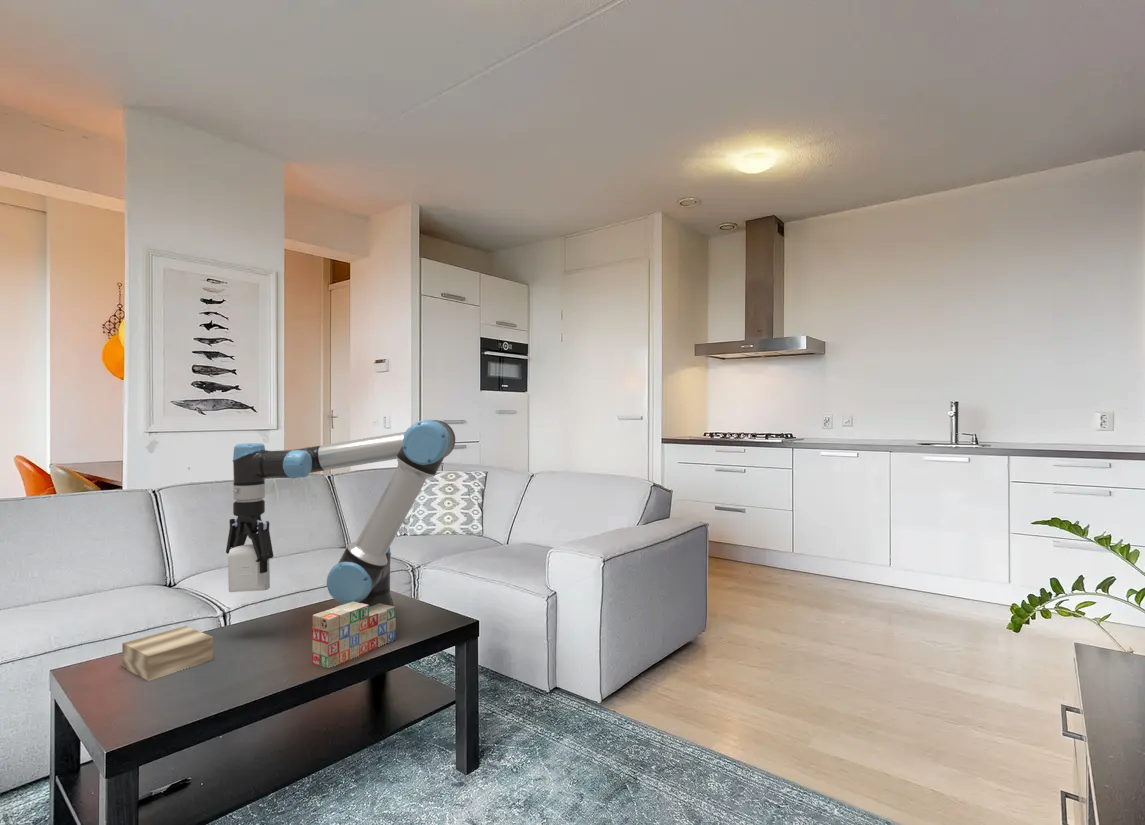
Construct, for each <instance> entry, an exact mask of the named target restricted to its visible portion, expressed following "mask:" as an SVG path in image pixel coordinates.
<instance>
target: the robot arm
mask: <svg viewBox="0 0 1145 825" xmlns="http://www.w3.org/2000/svg"><path fill="white" fill-rule="evenodd" d="M455 444H456V435H455V432H454V429H453V428H452V427H451V426H450V425H449V424H448V423H446V422H445V421H442V420H438V419H422V420H419V421H417V422H415V423H413V424H412V425H410V427H408V428H407V429H406V430H405V431H403V432H397V433H396V432H395V433H391V434H390V433H389V434H383V435H379V436H372V437H366V438H364V437H363V438H360V439H359V438H358V439H351V440H347V441H339V442H334V443H329V444H322V445H315V446H309V447H308V446H307V447H303V448H295V449H287V450H285V449H284V450H266V446H265V444H264V443H257V442H253V443H237V444H235V446H234V447H233V455H232V456H233V458H232V462H233V470H232V471H233V483H232V484H233V490H232V492H233V497H232V498H233V500H235V501H234V502H233V503H232V504H233V505H232V506H233V508H232V512H233V514H232V515H233V516H235V517H234V518H231V519H229V530H228V531H229V532H228V537H227V542H226V547H225V548H226V550H225V553H226V554H229V551H230V549H232V548H235V547H237V546H241V545H246V540H247V537H248V539H250V540H251V544H253V546H254V549H255V553H256V556H257V560H256V586H260V585H264V584H267V561H268V559H269V560H270V559H273V558H274V552H273V551H274V550H273V545H272V540H271V534H270V521H268V520H267V521H264V520H263V521H262V515H263V514H264V513H265V510H266V509H265V508H266V504H265V499H264V498H265V497H266V486H265V482H266V480H265V479H299V478H301V479H302V478H306V477H308V476H309V474H311V473H313V474H314V473H317V472H319V473H320V472H324V471H329V470H335V469H342V468H347V467H349V468H350V467H353V466H361V465H365V464H366V465H368V464H373V463H379V462H386V461H392V460H396V461H397V466H396V468H395V469H394V472H393V474H392V475H391V476H390V478H389V479H390V480H388V483H387V484H386V486H385V488H384V490H383V492H382V494H381V496H380V497H379V499H378V501H377V503H376V505H375V506H374V508H373V510H372V512H371V514H370V516H369V518H368V519H367V522H366V523H365V525H364V527H363V528H362V530H361V533H360V534H359V536H358V538H357V540H356V541H353V542H351V543H348V545H347V546H346V548H345V550H344V552H343V553H342V555H341V557H340V559H339V561H338V563H336V564H335V565H333V566H332V567H331V569H330V571H329V572H328V575H327V576H326V587H327V590H328V593H329V595H330V596H331V598H332V599H334V600H335V601H337V602H338V603H340V604H342V605H344V604H347V603H350V602H352V601H354V602H358V603H363V604H367V605H369V607H370V606H373V605H376V604H379V603H380V604H385V605H390V606H394V602H393V598H392V595H391V555H392V552H391V546H392V544H393V541H394V540H395V538H396V536H397V534H398V532H399V530H400V528H401V527H402V525H403V523H404V521H405V519H406V518H407V515H408V514H409V512H410V510H411V508H412V507H413V504H414V502H415V501H416V499H417V498H418V495H420V494H419V493H420V492H421V490H422V488H423V486H424V485H425V483H426V480H427V479H428V478H432V477H435V476H436V474H437V472H438V471H439V468H440V466H441V465H442V462H443V461H444V459H445V458H446V457H448V456H449V455H450V454H451V453H452V452H453V450H454V448H455ZM268 553H269V554H268ZM261 555H262V556H261ZM394 607H395V606H394ZM395 618H396V619H397V611H396V609H395Z"/></svg>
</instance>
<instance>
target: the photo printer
mask: <svg viewBox="0 0 1145 825" xmlns="http://www.w3.org/2000/svg"><path fill="white" fill-rule="evenodd" d="M268 554H269V553H268ZM227 556H228V557H227V561H228V562H227V566H228V567H227V568H228V569H227V572H228V574H227V575H228V576H227V578H228V581H227V582H228V583H227V584H228V585H227V586H228V592H229V593H238V592H239V593H240V592H241V593H243V592H257V591H260V592H261V591H268V590H269V589H270V588H271V586H270V585H271V584H270V578H271V577H270V576H271V575H270V574H271V573H270V572H271V571H270V559H268V561H267V584H264V585H260V586H256V560H257V556H256V553H255V549H254V546H253V543H251V544H249V543H248V544H244V545H241V546H237V547H235V548H232V549H230V551H229V554H228V555H227ZM261 556H262V555H261Z"/></svg>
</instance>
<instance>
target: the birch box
mask: <svg viewBox="0 0 1145 825" xmlns="http://www.w3.org/2000/svg"><path fill="white" fill-rule="evenodd" d="M121 645H122V650H121V651H122V655H121V656H122V657H121V660H122V661H121V662H122V663H121V666H123V667H122V668H124V669H125V668H126V670H127V671H129V672H130V673H132V674H135V675H136V676H138V677H140V678H142V679H144V680H146V681H148V682H150V681H153V680H156V679H160V678H162V677H165V676H168V675H171V674H174V673H178V672H181V671H183V669H184V670H186V668H187V669H190V668H193V667H195V666H200V665H202V664H205V663H208V662H207V661H209V662H211V661H210V660H212V661H214V636H212V635H209V634H206V633H205V632H201V631H200V630H197V629H195V628H192V627H189V626H187V625H184V626H181V627H178V628H172V629H169V630H166V631H163V632H159V633H155V634H152V635H151V634H150V635H148V636H144V637H141V638H136V639H133V640H130V641H126V642H123V643H122V644H121ZM204 662H205V663H204ZM189 667H190V668H189ZM180 670H181V671H180ZM177 671H178V672H177Z"/></svg>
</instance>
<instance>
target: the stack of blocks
mask: <svg viewBox="0 0 1145 825" xmlns="http://www.w3.org/2000/svg"><path fill="white" fill-rule="evenodd" d="M395 610H396V606H390V605H385V604H380V603H379V604H376V605H373V606H370V607H369V605H367V604H363V603H358V602H354V601H352V602H350V603H347V604H341V605H337V606H335V607H333V608H330V609H326V610H323V611H320V612H318V613H315V614H312V627H311V641H312V645H311V647H312V648H311V650H312V652H311V653H312V654H311V656H312V658H311V660H312V661H311V664H312V665H315V666H319V667H321V666H323V667H322V668H324V667H326V668H325V669H327V668H330V667H332V668H334V667H337V666H339V665H342V664H344V663H346V662H345V661H347V660H349V659H351V660H353V659H352V658H354V657H356V658H358V657H360V656H362V655H365V654H367V653H369V652H371V651H370V650H372V651H373V649H374V650H376V649H378V648H377V647H379V648H381V647H382V645H383V646H385V645H387V644H386V643H388V642H390V643H392V642H393V641H392V640H395V641H396V635H397V632H396V631H397V630H396V628H397V626H396V625H397V623H396V622H397V617H396V618H395ZM391 641H392V642H391ZM384 644H385V645H384ZM388 644H389V643H388ZM380 646H381V647H380ZM375 648H376V649H375ZM368 651H369V652H368ZM366 652H367V653H366ZM364 653H365V654H364ZM361 654H362V655H361ZM359 655H360V656H359ZM357 656H358V657H357ZM354 659H355V658H354ZM349 661H350V660H349ZM343 662H344V663H343ZM347 662H348V661H347ZM341 663H342V664H341ZM338 664H339V665H338ZM336 665H337V666H336ZM333 666H334V667H333ZM330 669H331V668H330Z"/></svg>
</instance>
